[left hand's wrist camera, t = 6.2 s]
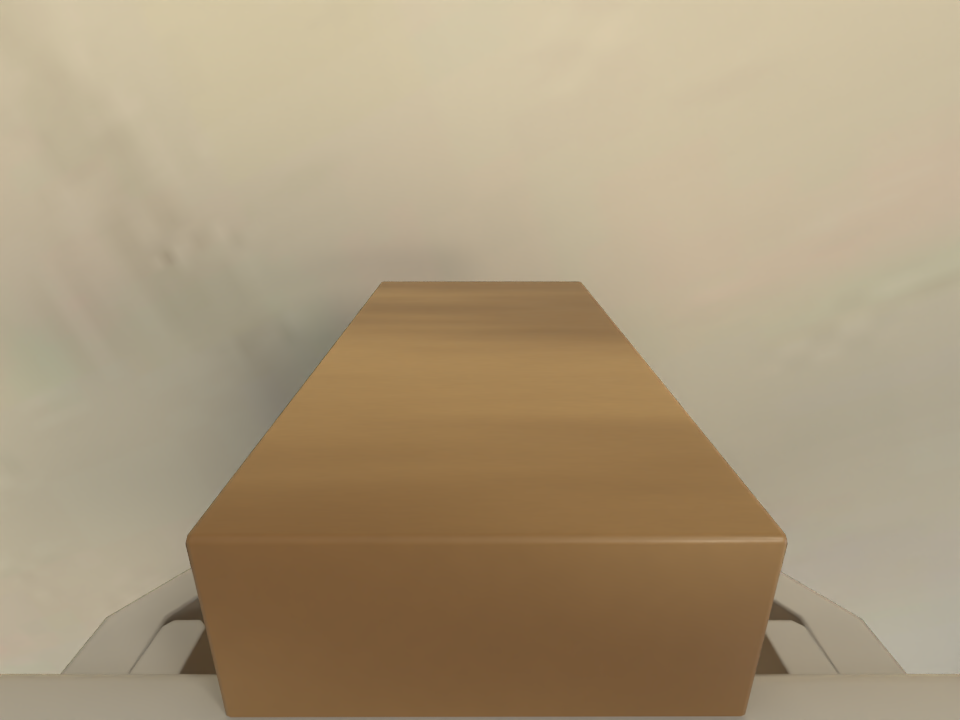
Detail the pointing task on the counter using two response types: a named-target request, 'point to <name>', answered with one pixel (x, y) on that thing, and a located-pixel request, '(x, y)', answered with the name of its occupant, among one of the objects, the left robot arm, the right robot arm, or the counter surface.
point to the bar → (485, 527)
